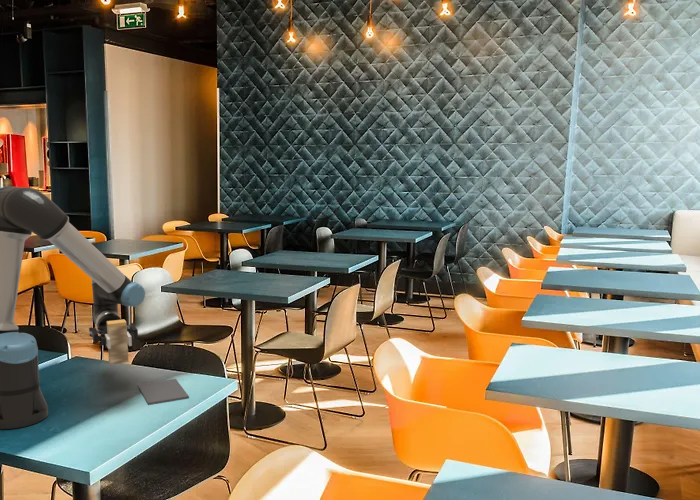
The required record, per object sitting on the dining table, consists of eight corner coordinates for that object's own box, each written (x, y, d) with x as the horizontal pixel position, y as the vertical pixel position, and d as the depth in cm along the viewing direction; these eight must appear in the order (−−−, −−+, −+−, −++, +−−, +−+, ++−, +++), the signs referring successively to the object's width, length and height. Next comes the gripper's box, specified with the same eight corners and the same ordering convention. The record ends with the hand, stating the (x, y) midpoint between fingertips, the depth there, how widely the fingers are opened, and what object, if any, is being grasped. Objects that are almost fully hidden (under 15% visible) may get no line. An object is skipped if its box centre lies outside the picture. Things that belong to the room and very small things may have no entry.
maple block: (110, 364, 184) (108, 324, 183) (108, 360, 188) (106, 321, 186) (128, 362, 186) (126, 322, 185) (126, 358, 190) (124, 319, 188)
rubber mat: (148, 404, 188) (148, 402, 188) (137, 386, 203) (137, 384, 203) (188, 398, 193) (188, 396, 193) (175, 380, 209) (175, 378, 209)
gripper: (139, 332, 207) (153, 351, 186) (79, 339, 198) (86, 360, 178) (138, 310, 206) (151, 326, 185) (78, 316, 197) (84, 334, 177)
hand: (119, 342), depth 181 cm, fingers closed on maple block, 5 cm apart
